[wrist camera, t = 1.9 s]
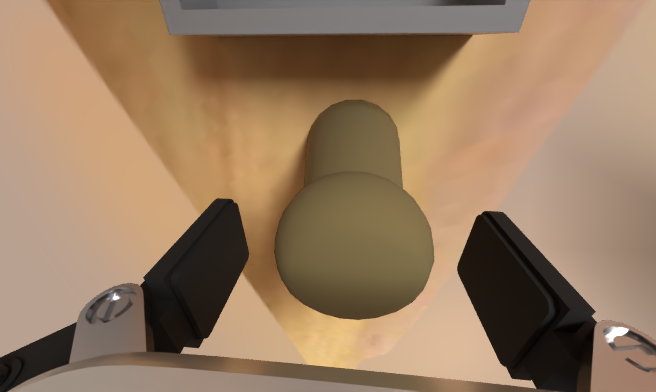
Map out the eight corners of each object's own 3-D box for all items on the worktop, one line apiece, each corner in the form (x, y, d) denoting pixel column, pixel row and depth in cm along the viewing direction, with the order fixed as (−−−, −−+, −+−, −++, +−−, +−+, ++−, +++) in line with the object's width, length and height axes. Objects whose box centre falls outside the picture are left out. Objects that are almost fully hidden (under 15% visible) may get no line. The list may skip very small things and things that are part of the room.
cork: (317, 190, 18) (279, 345, 9) (298, 107, 15) (209, 214, 6) (400, 182, 17) (454, 346, 8) (398, 91, 14) (486, 189, 5)
